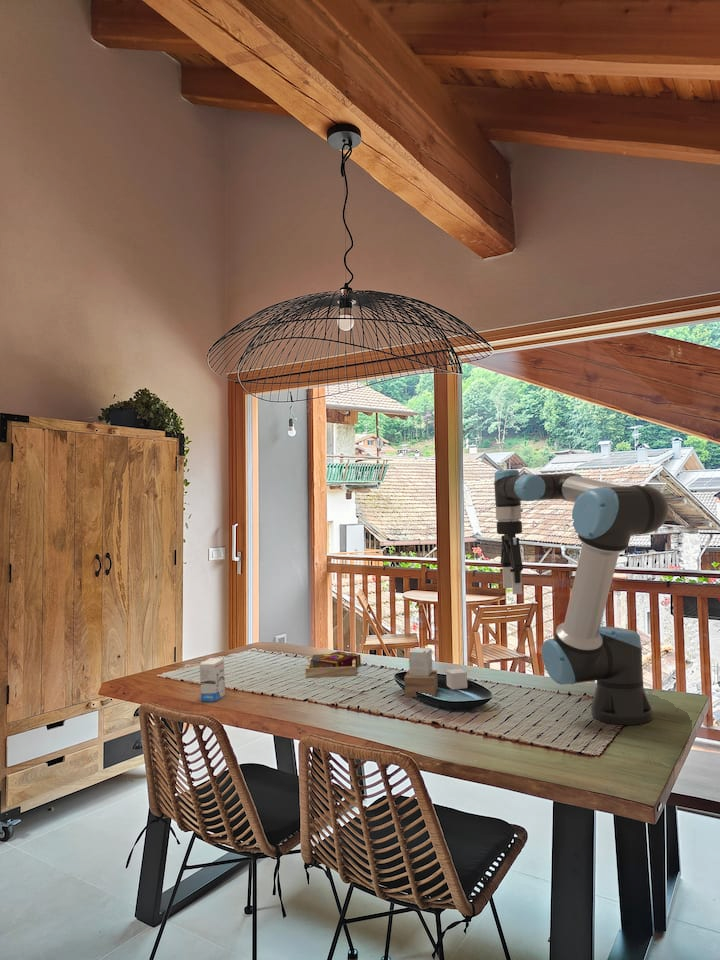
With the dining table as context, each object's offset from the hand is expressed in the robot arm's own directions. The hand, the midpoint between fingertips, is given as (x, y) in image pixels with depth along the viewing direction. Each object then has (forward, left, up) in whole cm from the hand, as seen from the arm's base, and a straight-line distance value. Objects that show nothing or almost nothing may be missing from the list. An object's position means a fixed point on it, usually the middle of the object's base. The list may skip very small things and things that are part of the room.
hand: (512, 591), depth 209 cm
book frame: (+40, +58, -31) cm, 77 cm away
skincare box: (+5, +28, -25) cm, 38 cm away
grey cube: (+10, +17, -31) cm, 37 cm away
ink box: (+9, +94, -31) cm, 99 cm away
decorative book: (+40, +57, -31) cm, 76 cm away
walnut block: (+5, +29, -31) cm, 43 cm away
